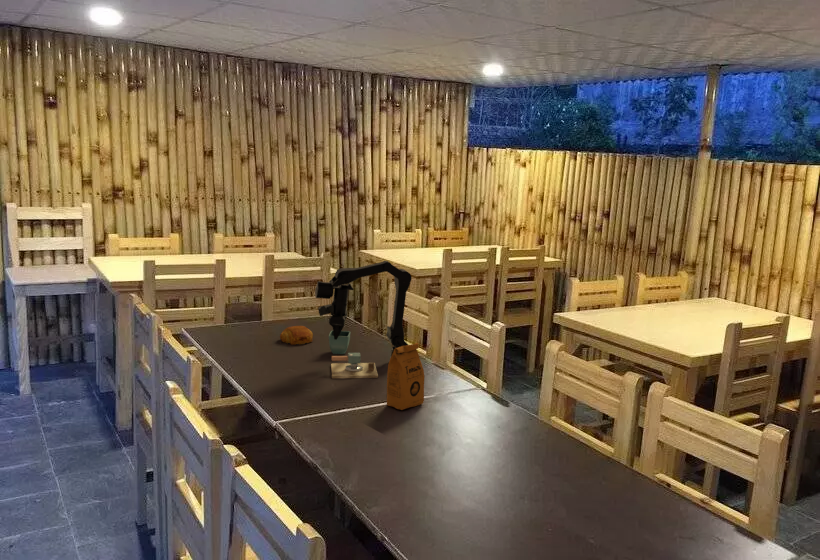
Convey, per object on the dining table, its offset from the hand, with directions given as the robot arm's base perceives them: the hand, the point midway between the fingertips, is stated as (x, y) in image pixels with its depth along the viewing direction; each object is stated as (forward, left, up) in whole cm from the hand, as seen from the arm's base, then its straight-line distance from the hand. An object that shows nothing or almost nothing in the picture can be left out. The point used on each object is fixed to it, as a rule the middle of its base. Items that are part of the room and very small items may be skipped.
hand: (336, 336), depth 271 cm
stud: (-7, +8, -12) cm, 16 cm away
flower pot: (-2, -18, -13) cm, 22 cm away
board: (-7, +8, -12) cm, 16 cm away
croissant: (+17, -38, -13) cm, 44 cm away
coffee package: (-23, +46, -13) cm, 53 cm away
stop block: (-14, +10, -12) cm, 21 cm away
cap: (-4, +8, -8) cm, 12 cm away
